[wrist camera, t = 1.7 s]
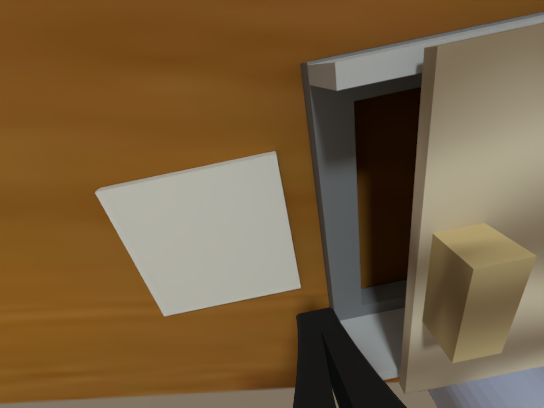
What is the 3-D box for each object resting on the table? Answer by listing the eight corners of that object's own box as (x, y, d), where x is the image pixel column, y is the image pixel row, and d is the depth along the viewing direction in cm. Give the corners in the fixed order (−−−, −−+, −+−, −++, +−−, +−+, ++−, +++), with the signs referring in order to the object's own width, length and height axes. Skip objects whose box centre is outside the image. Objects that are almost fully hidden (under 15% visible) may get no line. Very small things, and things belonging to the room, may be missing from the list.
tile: (299, 282, 19) (300, 288, 19) (166, 309, 19) (164, 316, 19) (275, 150, 15) (276, 154, 14) (100, 187, 15) (94, 192, 14)
